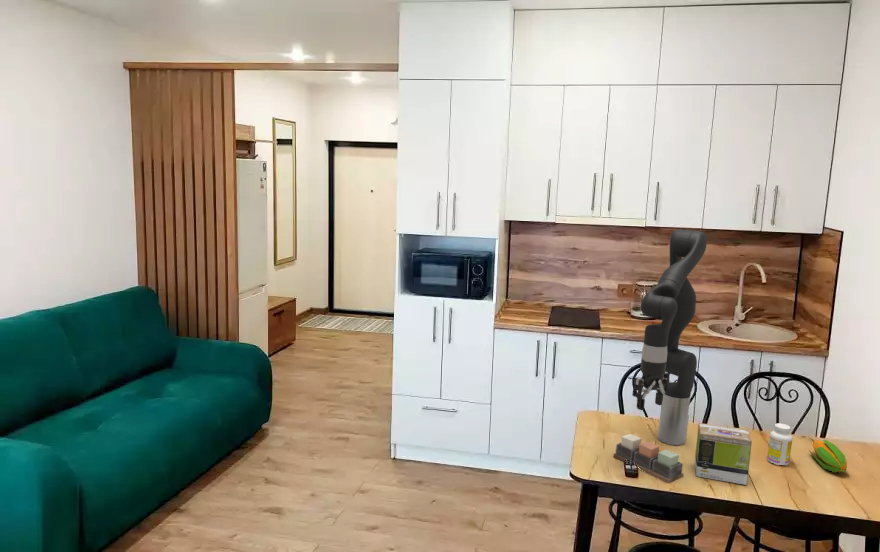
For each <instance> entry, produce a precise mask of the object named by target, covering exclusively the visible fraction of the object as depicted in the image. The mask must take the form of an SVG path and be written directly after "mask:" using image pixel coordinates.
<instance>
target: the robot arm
mask: <svg viewBox="0 0 880 552" xmlns="http://www.w3.org/2000/svg"><path fill="white" fill-rule="evenodd" d="M707 241H708V240H707V235H706V233H705V232H703V231H700V230H687V229H674V230H673V231H672V232H671V235H670V239H669V266H668V267H667V268H666V269H665V270H664V271H663V272H662V274H661V276H660V278H659V279H658V281H657V284H656V285H655V286H654V287H653V288H651V290H649V292H647V293H646V294H645V295H644V297H642V300H641V302H640V311H641V314H642V315H643V316H645V317H648V318H654V319H659V320H661V323H659V324H658V323H656V324H655V323H654V324H647V325H646V326H645V328H644V329H645V330H644V335H643V336H644V338H643V346H642V350H641V360H640V371H641V374H642V376H641V378H639V377H635V378H634V381H633V389H632V397H635V398H636V408H637V410H640V411H644V410H645V403H646V402H645V401H646V399H645V398H646V396H647V395H648V394H650V392H651V391H653V390H655V398H654V399H655V400H654V402H655V404H656V405H658V406H660V414H659V415H660V416H659V425H658V431H657V432H658V434H657V439H658V440H659V441H660V442H661V443H664V444H667V445H671V446H681V445H684V444H685V443H686V440H687V436H688V427H689V426H688V425H689V418H690V417H689V416H690V415H689V413H690V412H689V410H690V401H691V395H692V391H693V389H694V384H695V377H696V373H697V372H696V371H697V364H698V359H697V356H696V354H695V353H693V352H690V351H687V350H684V349H681V348H679V343H680V337H681V335H682V333H683V331H684V330H685V329H686V328H687V327H688V325H689V324H690V323H691V322H692V320H693V319H694V316H695V314H696V306H697V294H696V292H695V289H694V287H693V285H692V284H691V282H690V280H689V278H688V276H689V275H690V274H691V272H692V271H693V270H694V269H695V267H696V266H697V264H698V263H699V262H700V260H701V259H702V257H704V255H705V252H706V249H707ZM670 375H673V376H675V377H677V380H676V381H674V382H672V381H671V382H670V377H671V376H670Z"/></svg>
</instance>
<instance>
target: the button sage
mask: <svg viewBox="0 0 880 552" xmlns="http://www.w3.org/2000/svg"><path fill="white" fill-rule="evenodd" d="M679 457H680V454H678V453H676V452H673V451H672V450H669V449H665V450H662V451H659V453H658V461H657V462H659V463H662V464H664V465H666V466H668V467H672V466H675V465H677V464H678V462H679Z"/></svg>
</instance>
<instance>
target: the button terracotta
mask: <svg viewBox="0 0 880 552" xmlns="http://www.w3.org/2000/svg"><path fill="white" fill-rule="evenodd" d="M660 448H661V447H660V445H658V444H655V443H652V442H650V441H645V442H643V443H642V442H641V444H640V446H639V454H642V455H644V456H646V457H648V458H654V457H656V456H658V453H659V452H660Z"/></svg>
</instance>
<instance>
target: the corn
mask: <svg viewBox="0 0 880 552" xmlns="http://www.w3.org/2000/svg"><path fill="white" fill-rule="evenodd" d="M812 447H813V449H814V452H815V454H816V455H815V454H814V453H813V452H812V451H811V450H810V449H809V450H808V451H809V453H810V454H811V456H812V457H813V458H814V459H815V460H816V461H817V463H818V464H819V465H820V466H821V467H822V469H824V470H826V469H827V470H829V471H832V472H831V473H838V472H840V473H844V472H846V471H847V468H848V461H847V459H846V455H845V454H844V453H843V452H842V451H841V449H839V448H838V446H836V445H835V444H834V443H832V442H831V441H829V440H826V439H823V440H822V441H821V440H813V443H812ZM827 470H826V471H827ZM829 471H828V472H829ZM840 473H839V474H840Z"/></svg>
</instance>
